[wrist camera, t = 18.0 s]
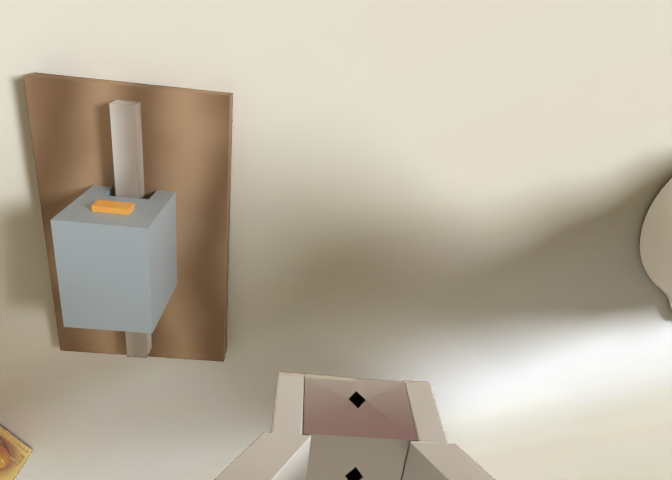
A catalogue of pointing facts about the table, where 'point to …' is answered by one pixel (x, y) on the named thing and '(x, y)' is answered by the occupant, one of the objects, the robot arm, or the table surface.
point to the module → (115, 259)
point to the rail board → (167, 169)
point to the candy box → (11, 455)
